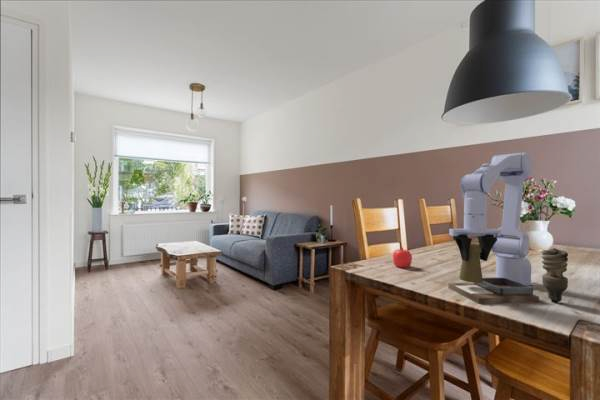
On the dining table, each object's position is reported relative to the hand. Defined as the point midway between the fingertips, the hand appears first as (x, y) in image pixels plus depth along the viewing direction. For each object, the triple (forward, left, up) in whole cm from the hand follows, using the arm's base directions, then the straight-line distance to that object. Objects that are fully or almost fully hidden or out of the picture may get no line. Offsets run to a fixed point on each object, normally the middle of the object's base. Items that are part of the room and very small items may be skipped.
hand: (474, 260), depth 82 cm
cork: (0, -1, -6) cm, 7 cm away
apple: (+6, -34, -11) cm, 36 cm away
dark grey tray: (-9, 0, -9) cm, 13 cm away
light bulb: (-19, +7, -10) cm, 23 cm away
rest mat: (0, 0, -9) cm, 9 cm away
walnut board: (-5, 0, -10) cm, 12 cm away
